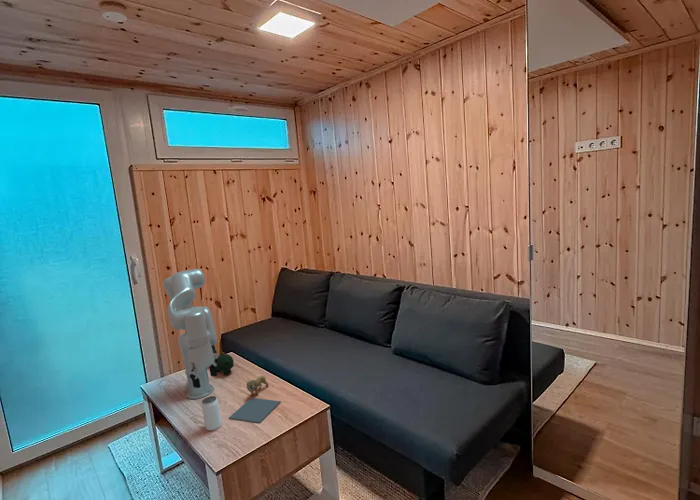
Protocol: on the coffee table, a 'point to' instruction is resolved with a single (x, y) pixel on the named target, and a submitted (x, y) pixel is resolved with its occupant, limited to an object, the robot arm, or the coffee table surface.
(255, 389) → the lion figurine
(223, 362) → the toy figurine
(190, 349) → the robot arm
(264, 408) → the mat
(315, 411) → the coffee table surface
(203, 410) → the can
